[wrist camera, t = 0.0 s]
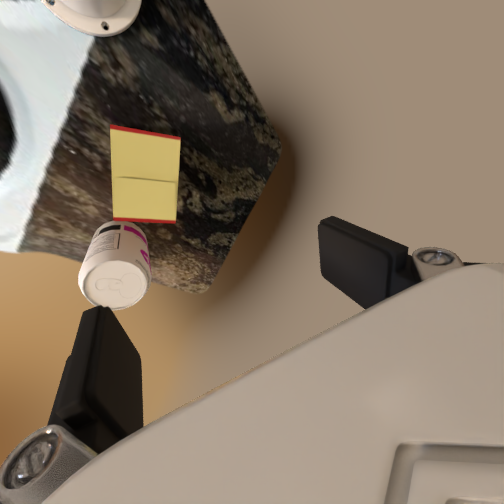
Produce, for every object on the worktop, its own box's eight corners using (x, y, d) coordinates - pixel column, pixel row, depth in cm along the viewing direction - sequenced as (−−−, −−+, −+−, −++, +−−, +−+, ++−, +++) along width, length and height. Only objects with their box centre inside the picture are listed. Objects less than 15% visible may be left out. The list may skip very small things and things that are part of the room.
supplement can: (149, 222, 44) (155, 258, 31) (143, 265, 47) (147, 313, 34) (95, 215, 40) (77, 252, 28) (92, 261, 43) (74, 315, 30)
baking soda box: (118, 127, 37) (109, 124, 24) (165, 135, 40) (181, 137, 26) (119, 192, 40) (113, 221, 27) (163, 196, 43) (176, 224, 30)
